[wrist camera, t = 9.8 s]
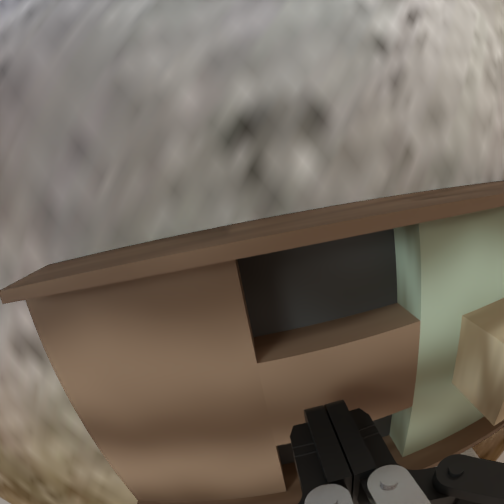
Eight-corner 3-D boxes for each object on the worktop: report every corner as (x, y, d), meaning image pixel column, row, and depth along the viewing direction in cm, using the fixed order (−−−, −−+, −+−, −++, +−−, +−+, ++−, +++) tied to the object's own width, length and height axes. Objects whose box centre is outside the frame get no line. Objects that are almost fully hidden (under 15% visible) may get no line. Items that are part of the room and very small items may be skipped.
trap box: (47, 265, 13) (-2, 291, 9) (507, 180, 13) (557, 184, 9) (147, 476, 16) (137, 521, 12) (487, 389, 16) (517, 416, 12)
